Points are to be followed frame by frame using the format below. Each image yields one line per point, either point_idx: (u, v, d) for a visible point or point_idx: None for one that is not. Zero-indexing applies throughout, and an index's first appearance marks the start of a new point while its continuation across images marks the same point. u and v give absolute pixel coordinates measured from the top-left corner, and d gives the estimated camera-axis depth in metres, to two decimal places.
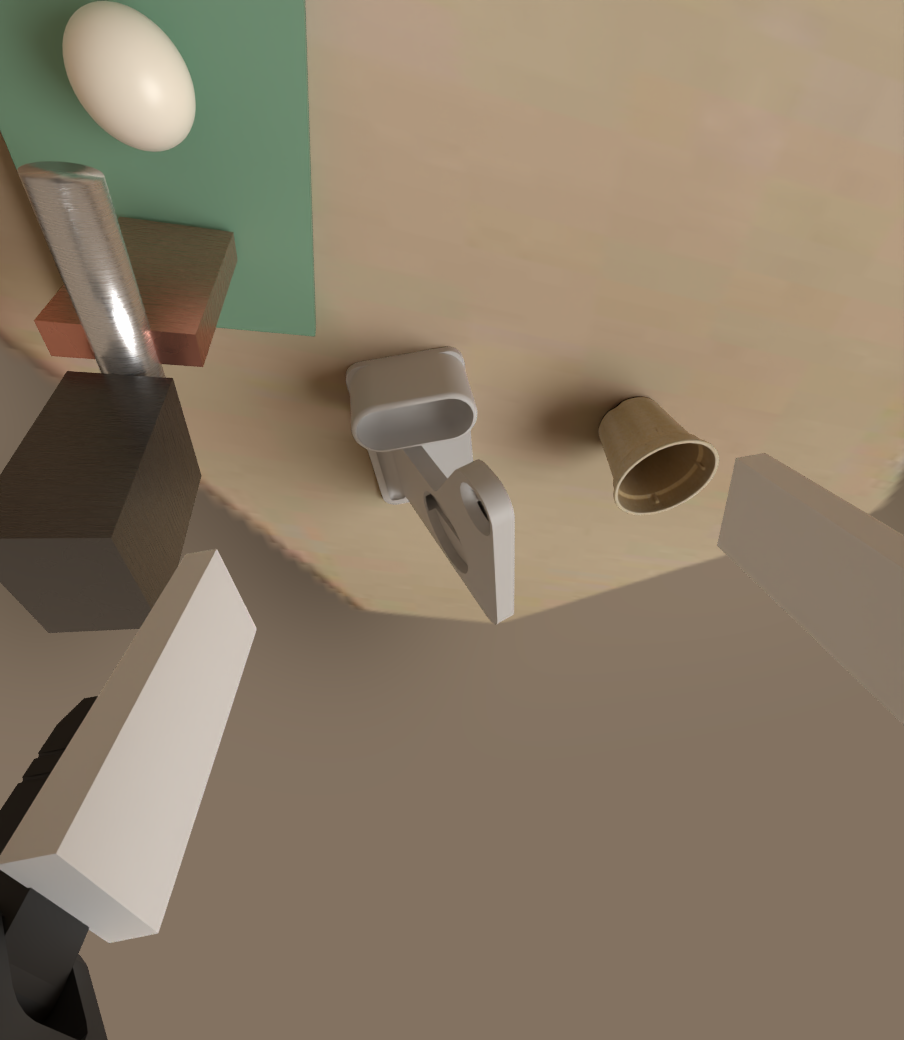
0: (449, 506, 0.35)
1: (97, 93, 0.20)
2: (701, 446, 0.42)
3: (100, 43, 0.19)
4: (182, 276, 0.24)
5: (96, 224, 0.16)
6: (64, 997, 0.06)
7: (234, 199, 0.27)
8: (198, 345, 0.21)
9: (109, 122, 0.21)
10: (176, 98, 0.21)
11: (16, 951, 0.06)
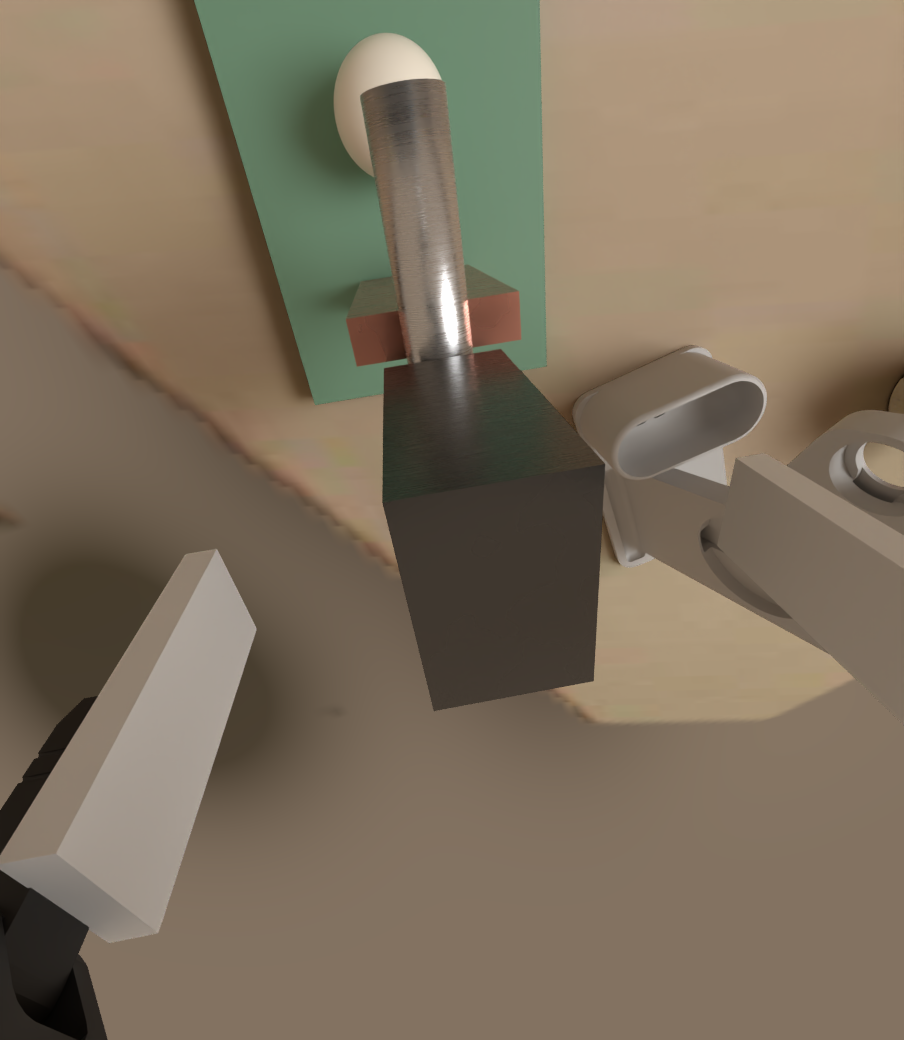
0: None
1: None
2: None
3: (377, 59, 0.18)
4: None
5: (442, 135, 0.13)
6: (64, 997, 0.06)
7: (466, 229, 0.26)
8: (519, 308, 0.16)
9: None
10: None
11: (16, 951, 0.06)
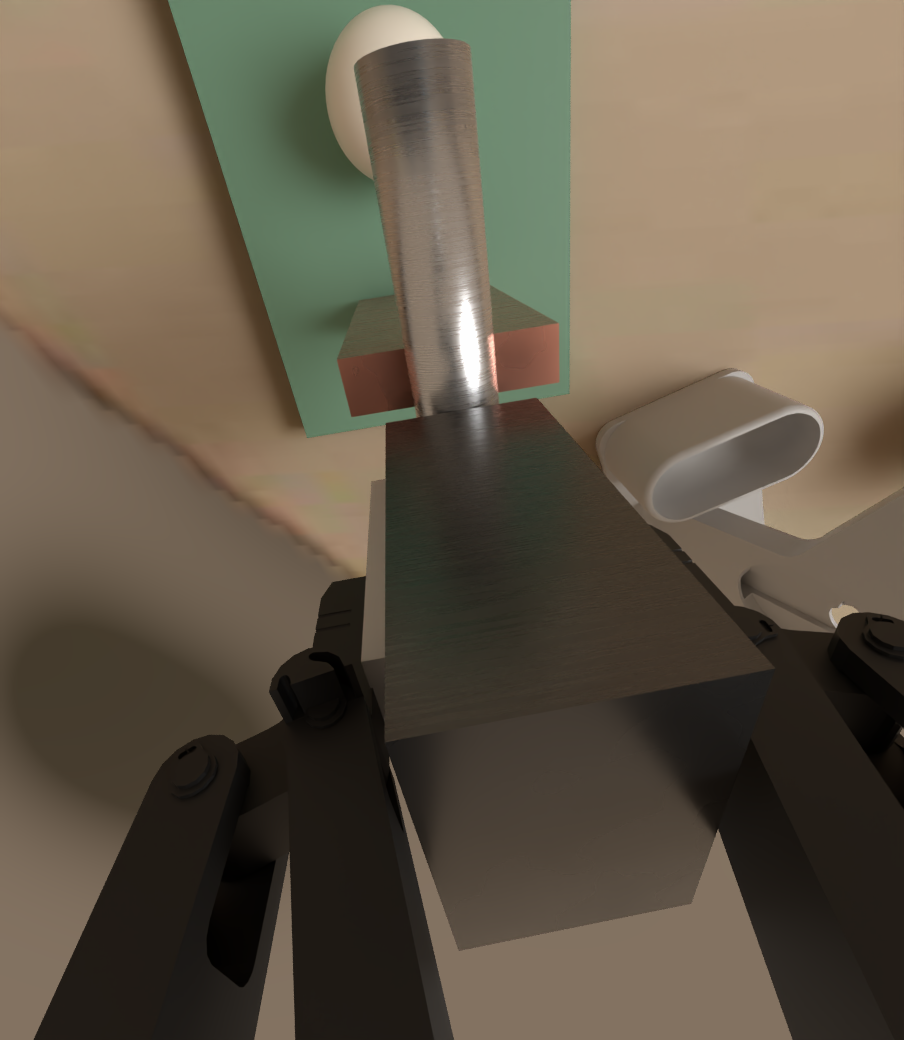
0: (848, 569, 0.22)
1: None
2: None
3: (377, 35, 0.15)
4: None
5: (466, 119, 0.09)
6: None
7: None
8: (558, 344, 0.13)
9: None
10: None
11: None
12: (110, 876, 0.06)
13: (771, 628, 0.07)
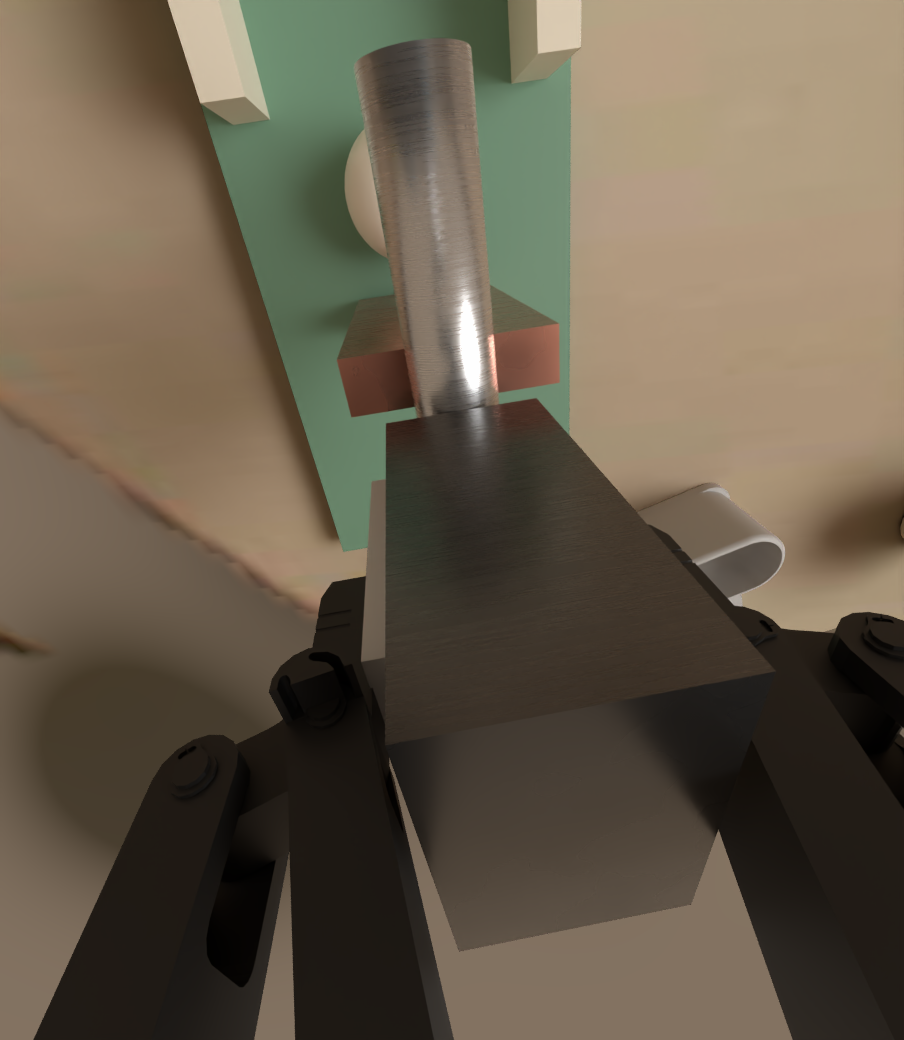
0: None
1: None
2: None
3: None
4: None
5: (466, 119, 0.09)
6: None
7: None
8: (558, 344, 0.13)
9: None
10: None
11: None
12: (110, 876, 0.06)
13: (771, 628, 0.07)
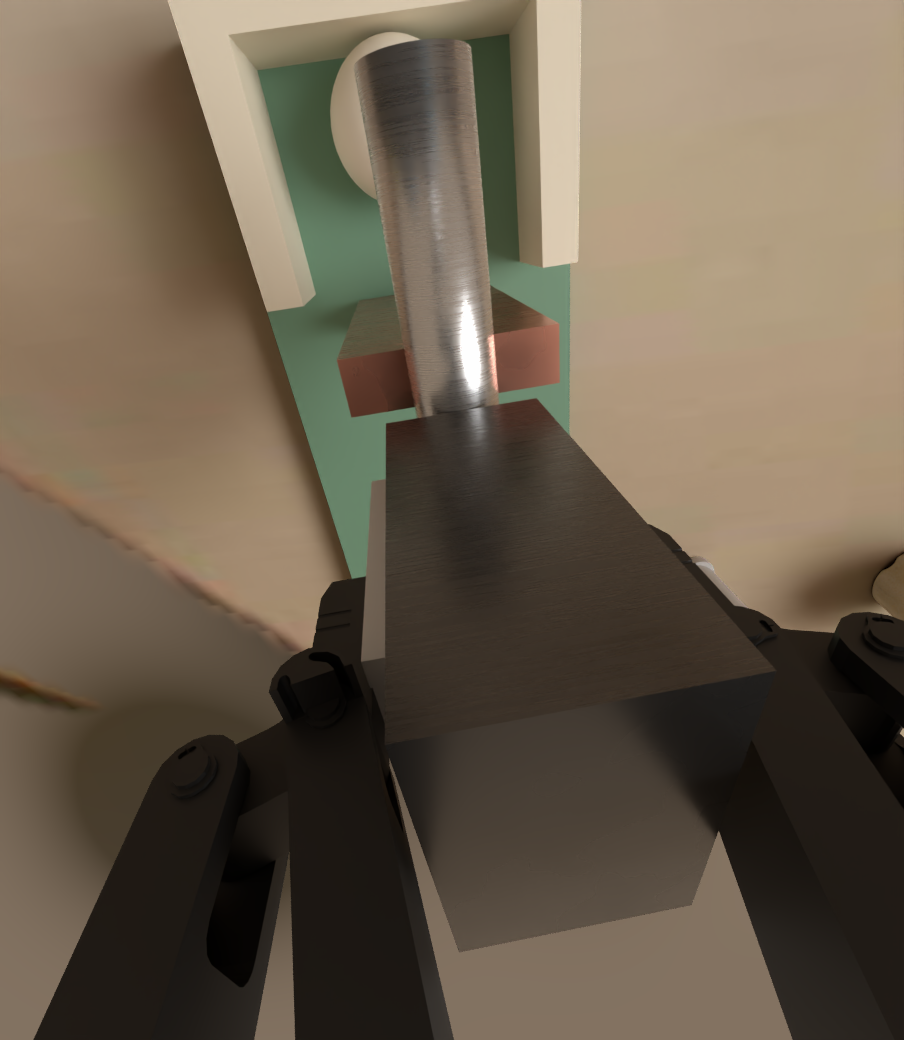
0: None
1: None
2: None
3: None
4: None
5: (466, 119, 0.09)
6: None
7: None
8: None
9: None
10: None
11: None
12: (109, 876, 0.06)
13: (771, 628, 0.07)
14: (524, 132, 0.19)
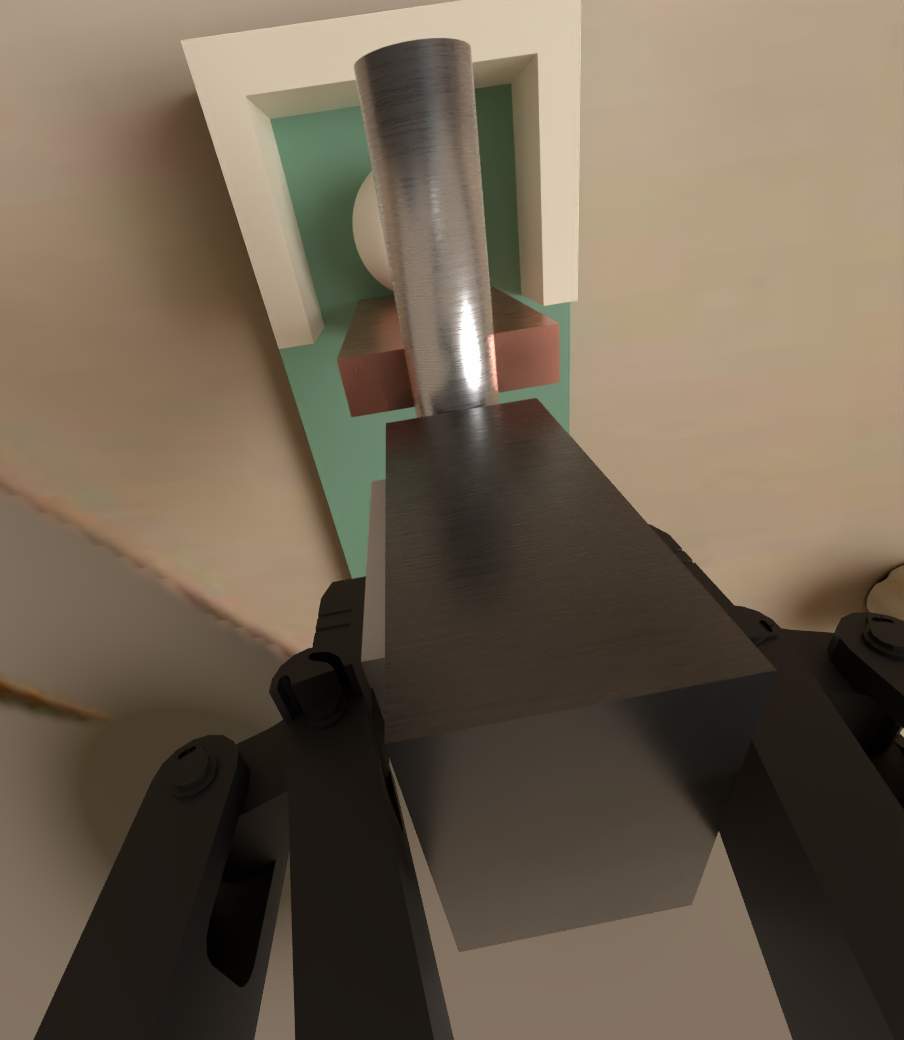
0: None
1: None
2: None
3: None
4: None
5: (466, 120, 0.09)
6: None
7: None
8: (558, 344, 0.13)
9: None
10: None
11: None
12: (110, 876, 0.06)
13: (771, 629, 0.07)
14: (526, 177, 0.20)
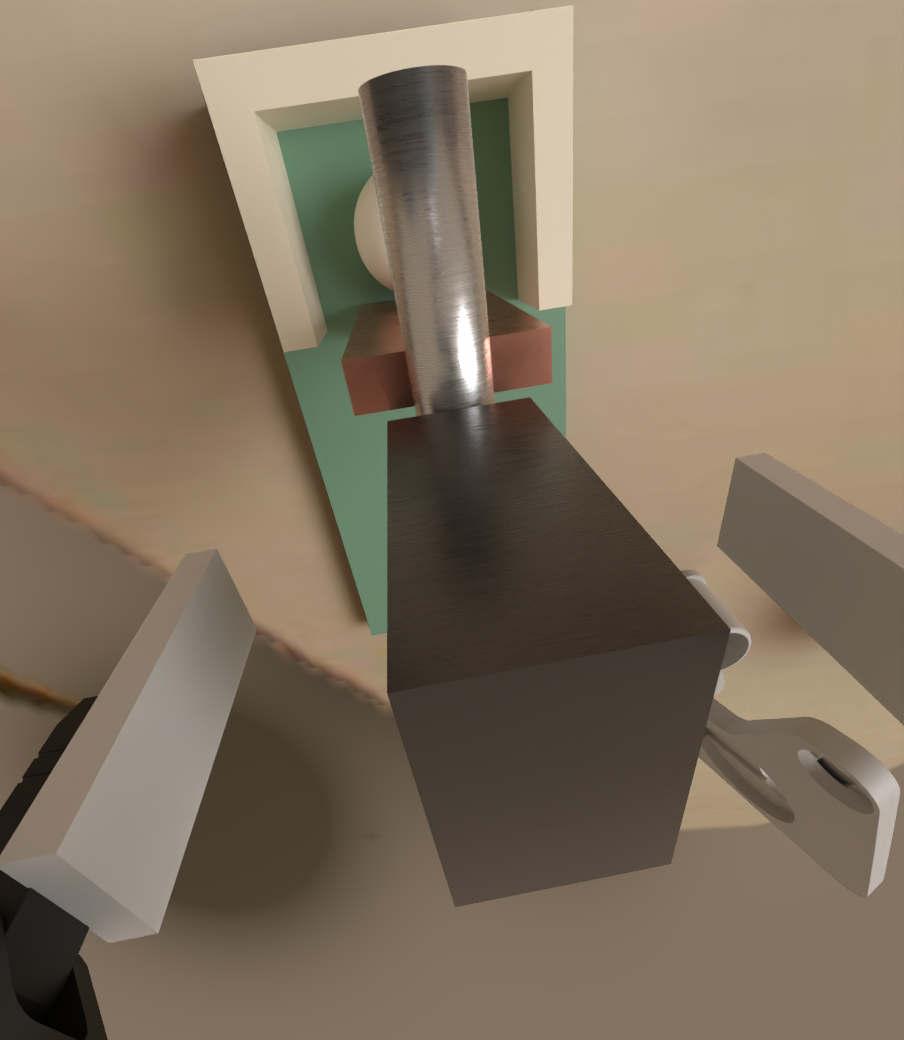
0: (762, 756, 0.31)
1: None
2: None
3: None
4: None
5: (462, 138, 0.10)
6: (64, 997, 0.06)
7: None
8: (551, 346, 0.14)
9: None
10: None
11: (16, 951, 0.06)
12: None
13: None
14: (522, 187, 0.20)
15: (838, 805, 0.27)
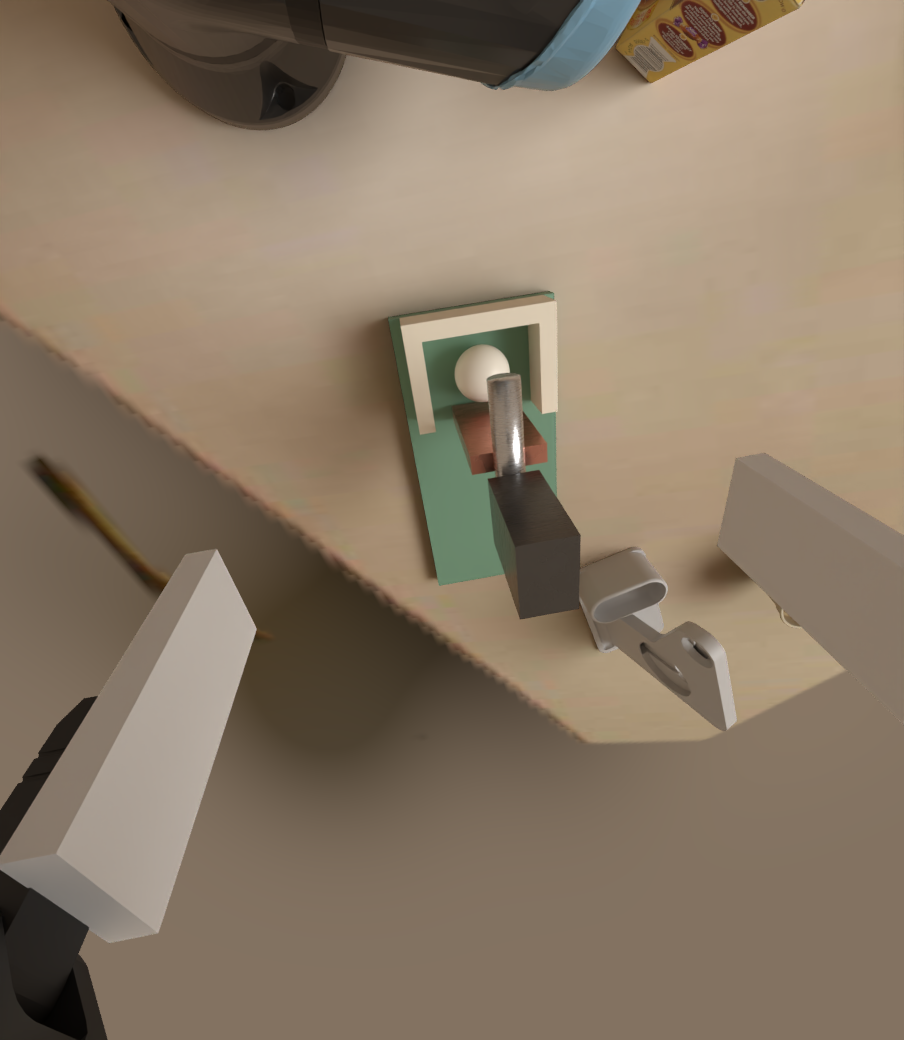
0: (669, 651, 0.54)
1: (476, 401, 0.43)
2: None
3: (483, 397, 0.42)
4: None
5: (519, 395, 0.33)
6: (64, 997, 0.06)
7: None
8: None
9: None
10: None
11: (16, 951, 0.06)
12: None
13: None
14: (534, 357, 0.43)
15: (702, 668, 0.49)
